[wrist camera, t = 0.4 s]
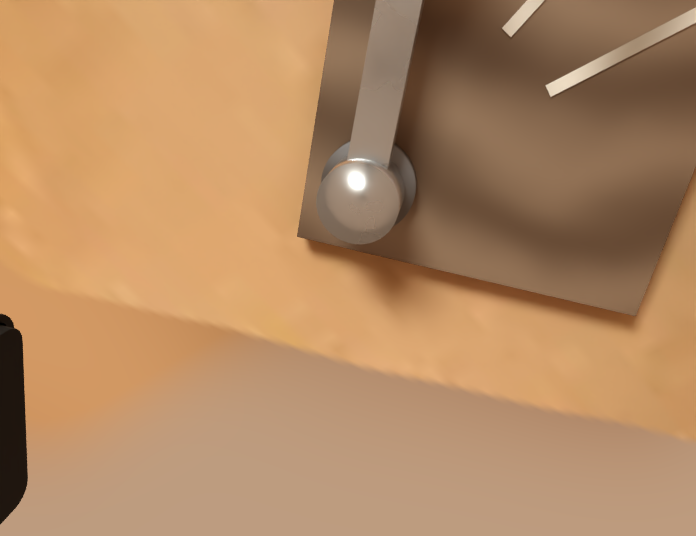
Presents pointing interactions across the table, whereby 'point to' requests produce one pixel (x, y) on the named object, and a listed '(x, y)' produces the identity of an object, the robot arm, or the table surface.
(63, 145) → the table surface
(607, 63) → the cracker board
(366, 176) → the lever
